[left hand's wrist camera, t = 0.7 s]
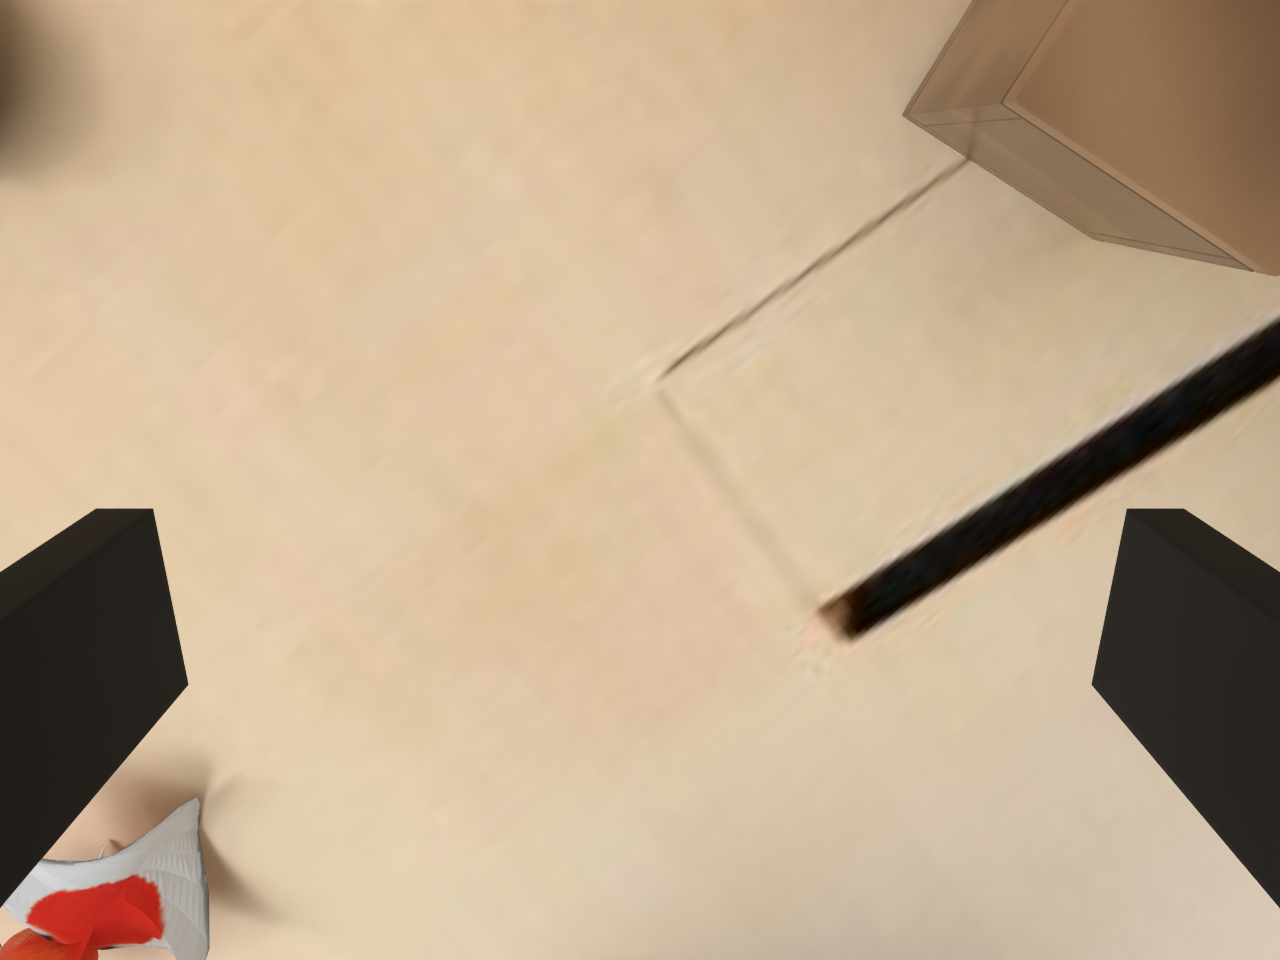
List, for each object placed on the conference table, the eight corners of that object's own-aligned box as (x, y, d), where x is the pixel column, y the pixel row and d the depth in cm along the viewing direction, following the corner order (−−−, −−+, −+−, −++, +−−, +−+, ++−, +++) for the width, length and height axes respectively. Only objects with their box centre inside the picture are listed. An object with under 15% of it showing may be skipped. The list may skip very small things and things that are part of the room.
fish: (-166, 912, 42) (-207, 1105, 35) (132, 694, 46) (154, 824, 38) (15, 995, 49) (14, 1173, 41) (264, 798, 52) (305, 927, 45)
